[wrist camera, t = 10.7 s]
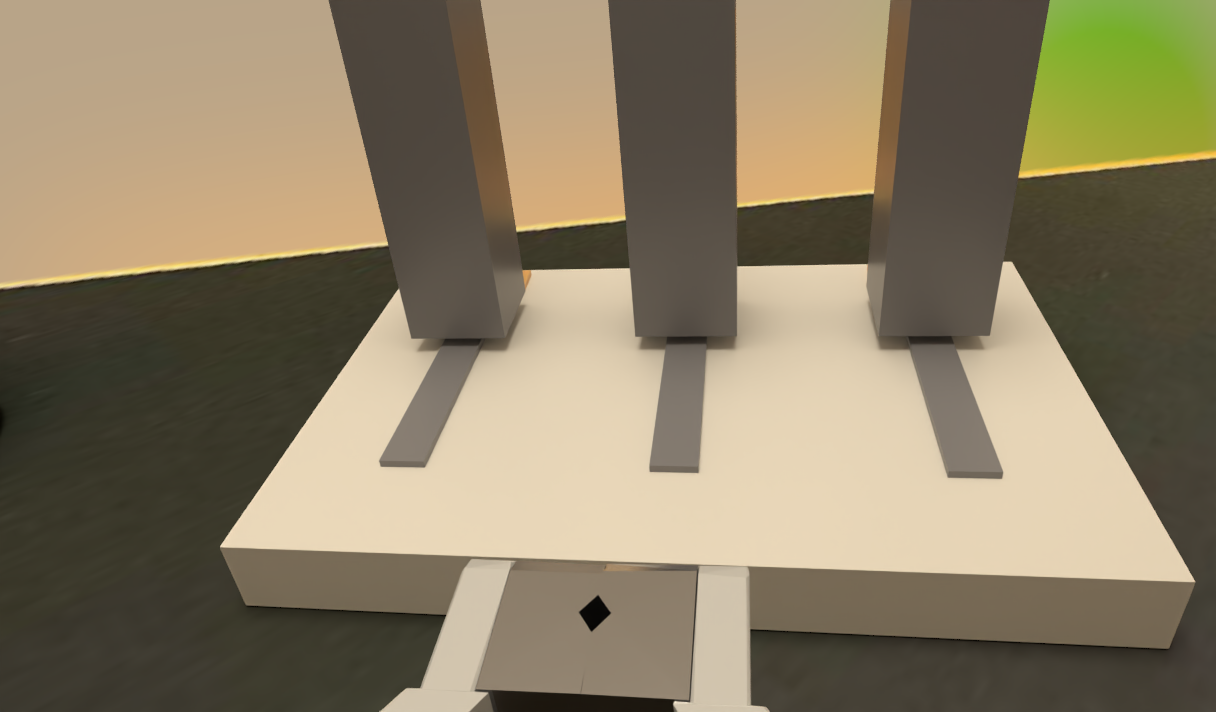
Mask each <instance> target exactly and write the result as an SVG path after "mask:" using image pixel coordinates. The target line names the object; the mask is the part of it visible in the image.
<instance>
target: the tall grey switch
mask: <svg viewBox="0 0 1216 712" xmlns="http://www.w3.org/2000/svg"><path fill="white" fill-rule="evenodd" d="M1049 1H1050V0H891V1H890V13H889V24H888V36H887V49H886V60H885V72H884V84H883V96H882V107H881V118H880V130H879V142H878V154H877V165H876V177H875V189H874V201H873V212H872V224H871V236H870V248H869V259H868V271H867V283H866V288H867V292H868V296H869V300H870V304H871V308H872V312H873V316H874V320H875V324H876V328H877V332H878V336H990V332H991V327H992V321H993V315H994V310H995V304H996V299H997V293H998V287H999V282H1000V276H1001V271H1002V265H1003V259H1004V254H1005V248H1006V243H1007V237H1008V231H1009V226H1010V220H1011V215H1012V209H1013V203H1014V198H1015V192H1016V187H1017V181H1018V175H1019V170H1020V164H1021V158H1022V152H1023V146H1024V142H1025V136H1026V130H1027V125H1028V119H1029V114H1030V108H1031V101H1032V96H1033V91H1034V85H1035V80H1036V74H1037V69H1038V63H1039V57H1040V52H1041V46H1042V41H1043V35H1044V30H1045V24H1046V18H1047V13H1048V7H1049Z"/></svg>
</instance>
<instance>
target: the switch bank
mask: <svg viewBox="0 0 1216 712" xmlns="http://www.w3.org/2000/svg"><path fill="white" fill-rule="evenodd" d="M867 271H868V264H860V265H803V266H745V267H737V336H689V337H635V327H634V314H633V302H632V289H631V277H630V269H572V270H522V272H523V278H524V284H525V293H524V296H523V298H522V300H521V303H520V305H519V307H518V310H517V312H516V314H515V316H514V319H513V321H512V323H511V326H510V328H509V330H508V333H507V335H506V337H505V338H460V339H411V335H410V331H409V327H408V323H407V319H406V315H405V311H404V307H403V303H402V298H401V294H400V290H399V289H398V290H397V292H396V293H395V295H394V296H393V298H392V299H391V301H390V302H389V303H388V305H387V306H386V308H385V309H384V311H383V312H382V314H381V315H380V316H379V318H378V319H377V321H376V322H375V324H374V325H373V327H372V328H371V329H370V331H369V332H368V334H367V335H366V337H365V338H364V340H363V341H362V342H361V344H360V345H359V347H358V348H357V350H356V351H355V353H354V354H353V355H352V357H351V358H350V360H349V361H348V363H347V364H346V366H345V367H344V368H343V370H342V371H341V373H340V374H339V376H338V377H337V378H336V380H335V381H334V383H333V384H332V386H331V387H330V389H329V390H328V391H327V393H326V394H325V396H324V397H323V399H322V400H321V402H320V403H319V404H318V406H317V407H316V409H315V410H314V412H313V413H312V415H311V416H310V417H309V419H308V420H307V422H306V423H305V425H304V426H303V428H302V429H301V430H300V432H299V433H298V435H297V436H296V438H295V439H294V441H293V442H292V443H291V445H290V446H289V448H288V449H287V451H286V452H285V454H284V455H283V456H282V458H281V459H280V461H279V462H278V464H277V465H276V467H275V468H274V469H273V471H272V472H271V474H270V475H269V477H268V478H267V479H266V481H265V482H264V484H263V485H262V487H261V488H260V490H259V491H258V492H257V494H256V495H255V497H254V498H253V500H252V501H251V503H250V504H249V505H248V507H247V508H246V510H245V511H244V513H243V514H242V516H241V517H240V518H239V520H238V521H237V523H236V524H235V526H234V527H233V529H232V530H231V531H230V533H229V534H228V536H227V537H226V539H225V540H224V542H223V543H222V544H221V546H220V549H221V551H222V554H223V556H224V558H225V560H226V562H227V565H228V567H229V569H230V571H231V573H232V576H233V578H234V580H235V582H236V584H237V587H238V589H239V591H240V593H241V595H242V598H243V600H244V602H245V604H246V605H249V606H270V607H291V608H312V609H334V610H355V611H376V612H397V613H418V614H440V615H447V612H448V609H449V606H450V604H451V601H452V598H453V595H454V592H455V590H456V587H457V584H458V581H459V579H460V576H461V573H462V571H463V569H464V568H465V567H466V566H467V564H468V563H469V562H470V560H471V559H482V560H503V561H536V562H556V563H575V564H595V565H607V564H646V565H699V568H700V566H745V567H748V570H749V582H750V629H758V630H779V631H801V632H822V633H843V634H864V635H886V636H907V637H928V638H949V639H971V640H992V641H1013V642H1034V643H1055V644H1077V645H1098V646H1119V647H1140V648H1162V649H1169V647H1170V645H1171V642H1172V640H1173V637H1174V635H1175V632H1176V630H1177V627H1178V625H1179V622H1180V620H1181V617H1182V615H1183V612H1184V610H1185V607H1186V605H1187V602H1188V600H1189V597H1190V595H1191V592H1192V590H1193V587H1194V585H1195V580H1194V579H1193V577H1192V575H1191V573H1190V572H1189V570H1188V568H1187V567H1186V565H1185V563H1184V561H1183V560H1182V558H1181V556H1180V554H1179V553H1178V551H1177V549H1176V547H1175V546H1174V544H1173V542H1172V540H1171V539H1170V537H1169V535H1168V533H1167V532H1166V530H1165V528H1164V526H1163V525H1162V523H1161V521H1160V519H1159V518H1158V516H1157V514H1156V512H1155V511H1154V509H1153V507H1152V506H1151V504H1150V502H1149V500H1148V499H1147V497H1146V495H1145V493H1144V492H1143V490H1142V488H1141V486H1140V485H1139V483H1138V481H1137V479H1136V478H1135V476H1134V474H1133V472H1132V471H1131V469H1130V467H1129V465H1128V464H1127V462H1126V460H1125V458H1124V457H1123V455H1122V453H1121V451H1120V450H1119V448H1118V446H1117V445H1116V443H1115V441H1114V439H1113V438H1112V436H1111V434H1110V432H1109V431H1108V429H1107V427H1106V425H1105V424H1104V422H1103V420H1102V418H1101V417H1100V415H1099V413H1098V411H1097V410H1096V408H1095V406H1094V404H1093V403H1092V401H1091V399H1090V397H1089V396H1088V394H1087V392H1086V390H1085V389H1084V387H1083V385H1082V383H1081V382H1080V380H1079V378H1078V377H1077V375H1076V373H1075V371H1074V370H1073V368H1072V366H1071V364H1070V363H1069V361H1068V359H1067V357H1066V356H1065V354H1064V352H1063V350H1062V349H1061V347H1060V345H1059V343H1058V342H1057V340H1056V338H1055V336H1054V335H1053V333H1052V331H1051V329H1050V328H1049V326H1048V324H1047V322H1046V321H1045V319H1044V317H1043V316H1042V314H1041V312H1040V310H1039V309H1038V307H1037V305H1036V303H1035V302H1034V300H1033V298H1032V296H1031V295H1030V293H1029V291H1028V289H1027V288H1026V286H1025V284H1024V282H1023V281H1022V279H1021V277H1020V275H1019V274H1018V272H1017V270H1016V268H1015V267H1014V265H1013V263H1012V262H1003V265H1002V271H1001V276H1000V282H999V287H998V293H997V299H996V304H995V310H994V315H993V321H992V327H991V332H990V336H878V332H877V328H876V324H875V320H874V316H873V312H872V308H871V304H870V300H869V296H868V292H867V288H866V283H867Z"/></svg>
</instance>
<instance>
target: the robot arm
mask: <svg viewBox="0 0 1216 712" xmlns="http://www.w3.org/2000/svg"><path fill="white" fill-rule="evenodd" d="M380 712H769V710H768V709H767V707H762V706H751V644H750V582H749V570H748V567H745V566H700V568H699V565H646V564H607V565H595V564H575V563H556V562H536V561H503V560H482V559H471V560H470V562H469V563H468V564H467V566H466V567H465V568H464V569H463V571H462V573H461V576H460V579H459V581H458V584H457V587H456V590H455V592H454V595H453V598H452V601H451V604H450V606H449V609H448V612H447V615H446V618H445V620H444V623H443V626H442V629H441V632H440V634H439V637H438V640H437V643H436V646H435V648H434V651H433V654H432V657H431V660H430V662H429V665H428V668H427V671H426V674H425V676H424V679H423V682H422V685H421V687H420V688H406V689H405V690H404V691H403V692H402V693H400V694H399V695H398V696H397V697H396V698H395V699H394V700H392V701H391V702H390V703H389V704H388V705H387V706H386V707H385V708H383V709H382V710H381V711H380Z"/></svg>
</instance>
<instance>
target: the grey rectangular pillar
mask: <svg viewBox="0 0 1216 712" xmlns="http://www.w3.org/2000/svg"><path fill="white" fill-rule="evenodd" d="M608 3H609V16H610V28H611V40H612V51H613V65H614V78H615V90H616V103H617V115H618V127H619V140H620V152H621V165H622V177H623V190H624V202H625V215H626V227H627V240H628V252H629V264H630V277H631V289H632V302H633V314H634V327H635V337H689V336H737V121H736V120H737V114H736V0H608Z"/></svg>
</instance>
